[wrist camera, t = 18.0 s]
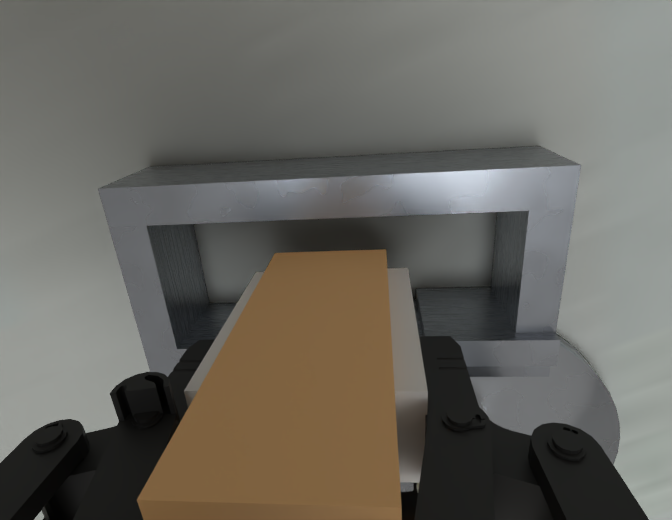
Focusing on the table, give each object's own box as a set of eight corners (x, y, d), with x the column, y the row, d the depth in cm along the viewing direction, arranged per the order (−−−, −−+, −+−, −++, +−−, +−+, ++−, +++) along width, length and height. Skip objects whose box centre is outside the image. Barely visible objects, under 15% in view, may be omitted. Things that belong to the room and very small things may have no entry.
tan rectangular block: (287, 346, 17) (188, 650, 8) (275, 253, 16) (136, 500, 7) (388, 345, 17) (403, 664, 8) (386, 249, 15) (400, 507, 6)
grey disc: (314, 291, 22) (299, 342, 18) (636, 283, 20) (703, 338, 16) (337, 530, 29) (331, 608, 24) (579, 538, 27) (615, 623, 23)
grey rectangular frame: (149, 167, 20) (98, 188, 16) (539, 145, 18) (580, 165, 14) (187, 328, 23) (151, 377, 20) (519, 324, 22) (548, 376, 18)
